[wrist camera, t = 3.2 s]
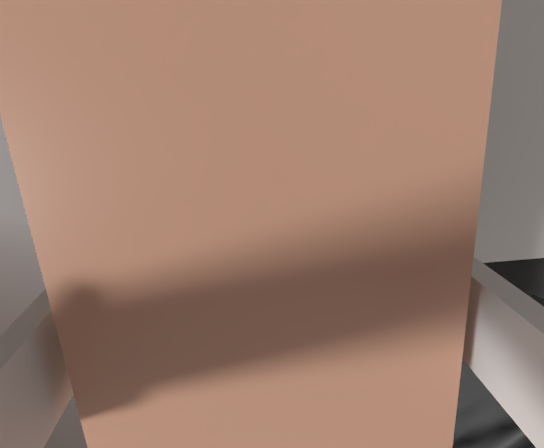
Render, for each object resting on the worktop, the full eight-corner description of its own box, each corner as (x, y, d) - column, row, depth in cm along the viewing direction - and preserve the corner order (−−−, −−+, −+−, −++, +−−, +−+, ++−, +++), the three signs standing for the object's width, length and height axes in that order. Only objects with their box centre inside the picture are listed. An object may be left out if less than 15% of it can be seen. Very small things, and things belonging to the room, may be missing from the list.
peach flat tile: (39, -3, 10) (-42, -40, 7) (436, -22, 10) (509, -63, 8) (151, 519, 16) (131, 614, 13) (403, 490, 16) (438, 575, 13)
